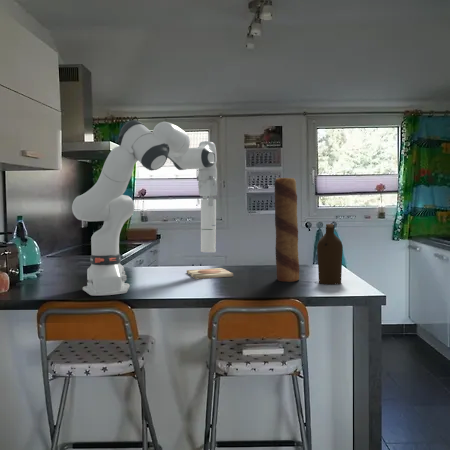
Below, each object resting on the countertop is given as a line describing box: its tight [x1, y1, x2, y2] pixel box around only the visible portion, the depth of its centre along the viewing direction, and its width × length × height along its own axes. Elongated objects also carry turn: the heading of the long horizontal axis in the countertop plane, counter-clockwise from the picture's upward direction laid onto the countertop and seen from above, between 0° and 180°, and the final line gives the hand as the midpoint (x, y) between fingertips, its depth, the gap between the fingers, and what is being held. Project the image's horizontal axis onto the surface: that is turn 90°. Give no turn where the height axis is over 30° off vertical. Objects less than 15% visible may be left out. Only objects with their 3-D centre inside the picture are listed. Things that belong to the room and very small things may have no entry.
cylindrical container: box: [200, 198, 217, 253], centre depth 223 cm, size 7×7×25 cm
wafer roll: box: [274, 177, 300, 283], centre depth 206 cm, size 10×11×45 cm
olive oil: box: [316, 223, 344, 286], centre depth 199 cm, size 11×11×25 cm
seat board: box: [186, 267, 234, 280], centre depth 225 cm, size 18×18×2 cm
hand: (208, 205), depth 223 cm, fingers closed on cylindrical container, 7 cm apart
